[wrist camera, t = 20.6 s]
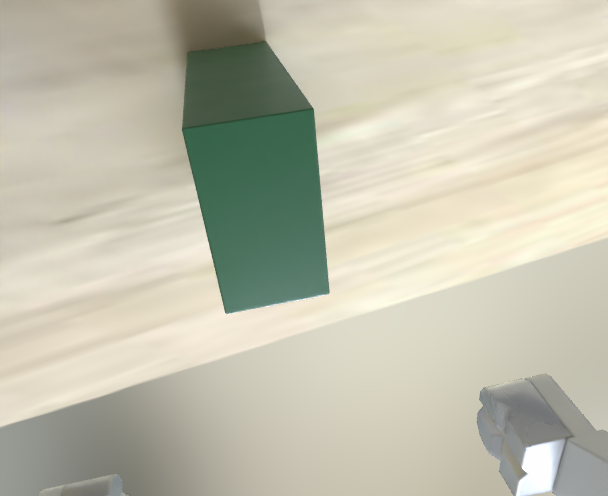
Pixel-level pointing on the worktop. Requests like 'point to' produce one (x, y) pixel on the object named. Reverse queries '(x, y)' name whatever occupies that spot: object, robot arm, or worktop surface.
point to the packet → (255, 176)
